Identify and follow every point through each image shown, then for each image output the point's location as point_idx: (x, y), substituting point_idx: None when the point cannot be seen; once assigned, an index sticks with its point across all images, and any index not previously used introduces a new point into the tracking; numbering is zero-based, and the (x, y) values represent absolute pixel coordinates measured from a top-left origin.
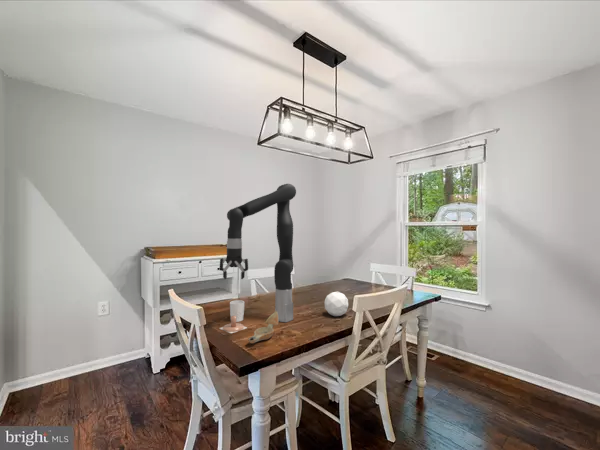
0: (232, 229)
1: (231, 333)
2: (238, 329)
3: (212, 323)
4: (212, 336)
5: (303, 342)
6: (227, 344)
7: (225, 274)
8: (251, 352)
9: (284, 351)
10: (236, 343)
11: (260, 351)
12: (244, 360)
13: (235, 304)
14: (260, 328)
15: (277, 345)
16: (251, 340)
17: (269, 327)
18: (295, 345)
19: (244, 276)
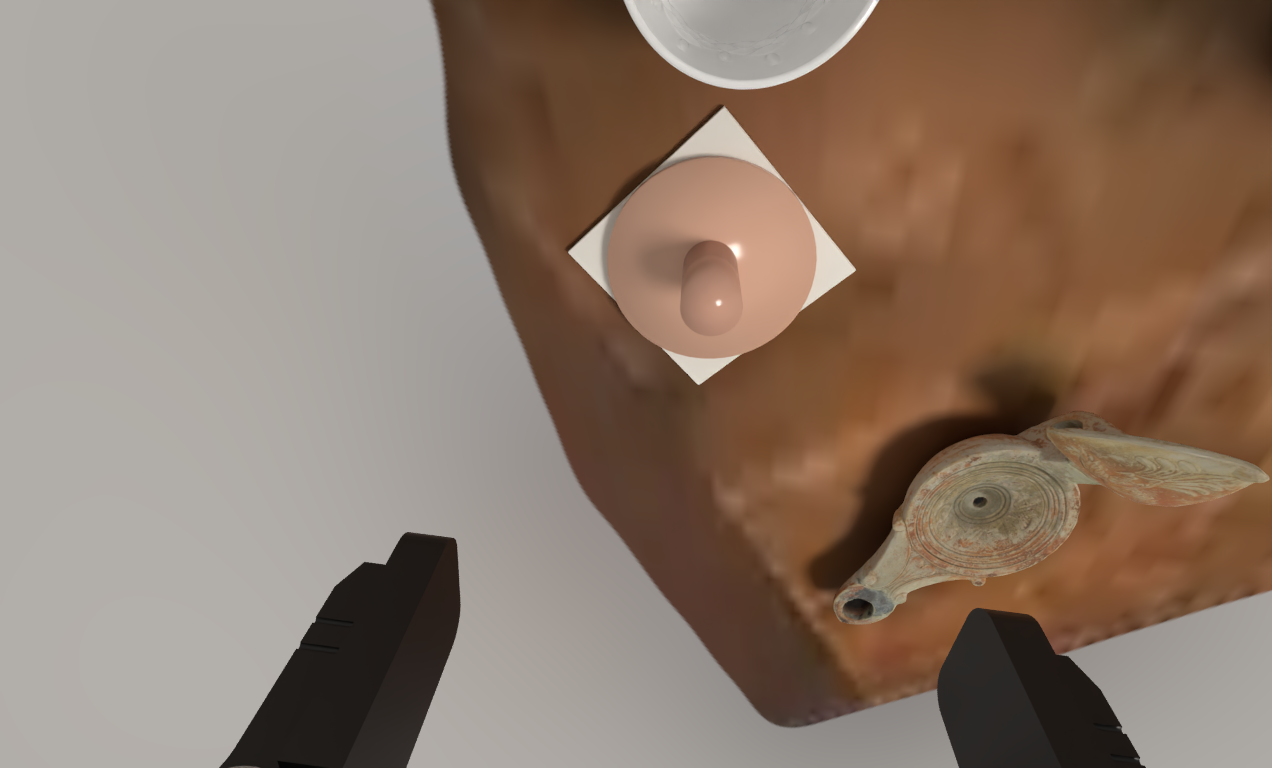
0: None
1: (700, 382)
2: (761, 344)
3: (451, 57)
4: (550, 401)
5: (1235, 583)
6: (686, 535)
7: (397, 766)
8: (838, 641)
9: None
10: (747, 531)
11: (893, 639)
12: (792, 698)
13: (725, 87)
14: (966, 472)
15: (1025, 593)
16: (853, 622)
17: (1056, 473)
18: (1150, 610)
19: (1101, 696)
